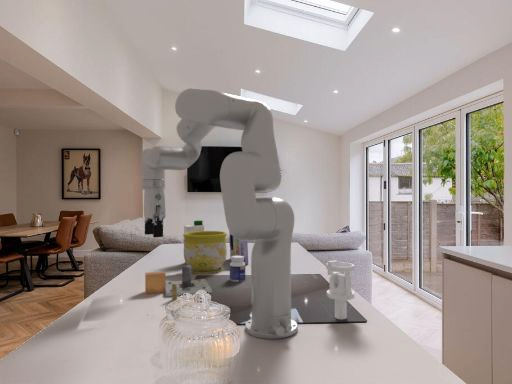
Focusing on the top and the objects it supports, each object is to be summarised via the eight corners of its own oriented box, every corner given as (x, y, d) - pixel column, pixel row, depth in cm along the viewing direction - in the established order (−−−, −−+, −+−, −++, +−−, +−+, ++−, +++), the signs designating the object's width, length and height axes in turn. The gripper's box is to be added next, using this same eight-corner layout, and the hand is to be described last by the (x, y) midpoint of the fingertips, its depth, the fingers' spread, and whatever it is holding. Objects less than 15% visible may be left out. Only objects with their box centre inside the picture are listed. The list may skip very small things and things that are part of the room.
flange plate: (204, 282, 127) (204, 265, 127) (211, 292, 113) (211, 273, 114) (145, 287, 121) (145, 269, 121) (145, 298, 108) (145, 278, 108)
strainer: (321, 314, 96) (321, 258, 96) (344, 311, 99) (343, 257, 99) (336, 323, 90) (336, 263, 90) (360, 319, 92) (359, 261, 92)
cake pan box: (228, 258, 182) (228, 223, 182) (238, 257, 184) (238, 223, 184) (238, 265, 164) (237, 226, 164) (248, 264, 165) (248, 226, 165)
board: (234, 300, 110) (234, 271, 110) (145, 309, 102) (145, 278, 102) (218, 281, 134) (217, 257, 134) (145, 287, 127) (145, 261, 127)
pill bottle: (243, 286, 127) (243, 258, 127) (227, 285, 128) (227, 257, 128) (247, 282, 133) (246, 255, 133) (232, 281, 134) (231, 254, 134)
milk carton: (206, 264, 167) (205, 221, 168) (187, 266, 164) (186, 222, 164) (200, 261, 175) (200, 220, 175) (182, 262, 172) (182, 220, 172)
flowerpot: (232, 274, 145) (232, 234, 145) (188, 279, 138) (187, 236, 138) (220, 266, 162) (220, 230, 162) (180, 270, 155) (179, 232, 155)
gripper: (172, 185, 117) (173, 237, 117) (156, 185, 132) (156, 232, 132) (149, 184, 113) (150, 239, 113) (135, 185, 128) (135, 234, 128)
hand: (153, 235), depth 122 cm, fingers open, 9 cm apart
